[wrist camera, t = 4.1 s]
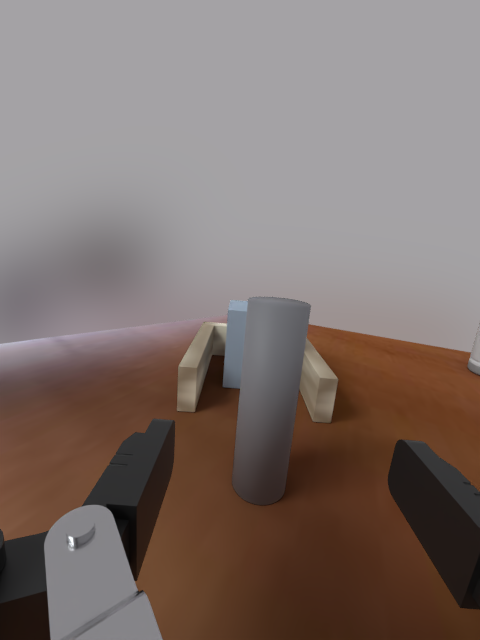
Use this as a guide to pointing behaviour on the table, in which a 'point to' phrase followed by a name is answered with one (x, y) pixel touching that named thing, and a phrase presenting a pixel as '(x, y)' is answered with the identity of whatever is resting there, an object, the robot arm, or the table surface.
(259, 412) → the block
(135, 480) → the robot arm
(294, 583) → the table surface
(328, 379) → the frame
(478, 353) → the travel mug
